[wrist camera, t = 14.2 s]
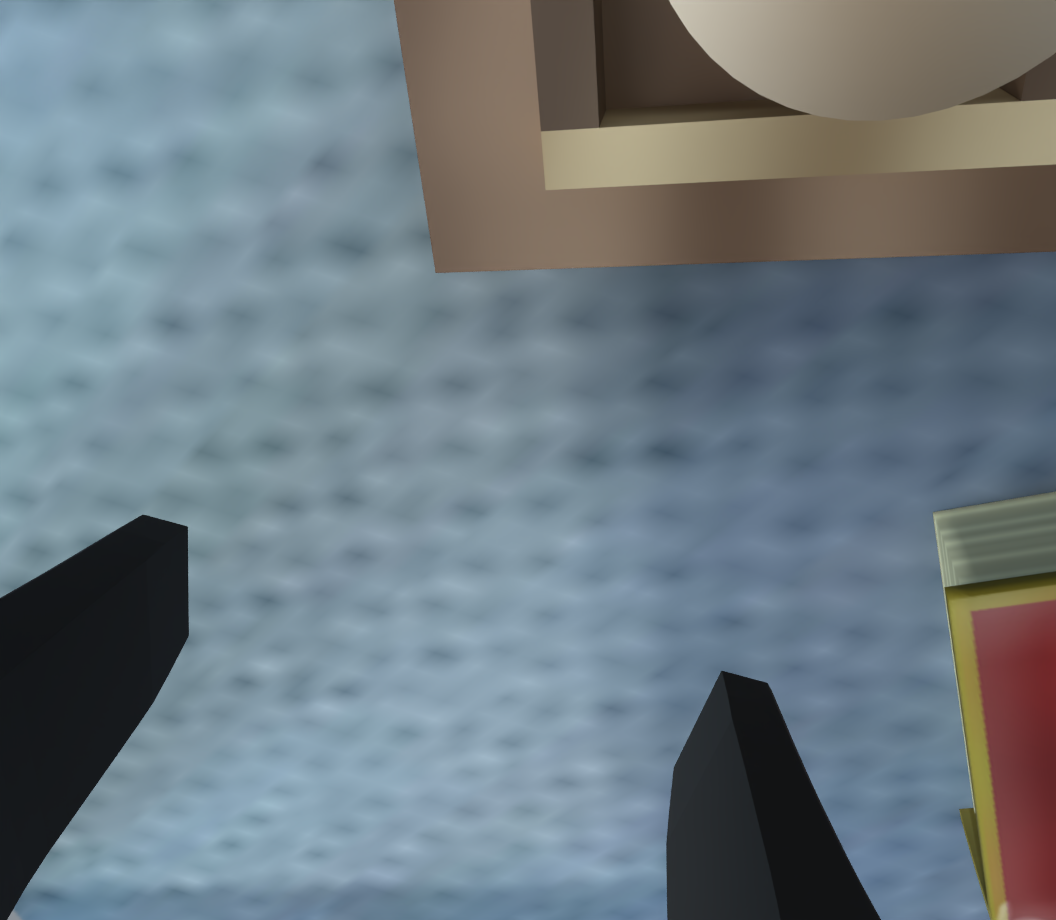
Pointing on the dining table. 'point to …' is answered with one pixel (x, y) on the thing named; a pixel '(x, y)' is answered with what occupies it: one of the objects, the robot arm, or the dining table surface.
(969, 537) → the hardcover book
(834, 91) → the ash peg
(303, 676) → the dining table surface
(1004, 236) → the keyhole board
